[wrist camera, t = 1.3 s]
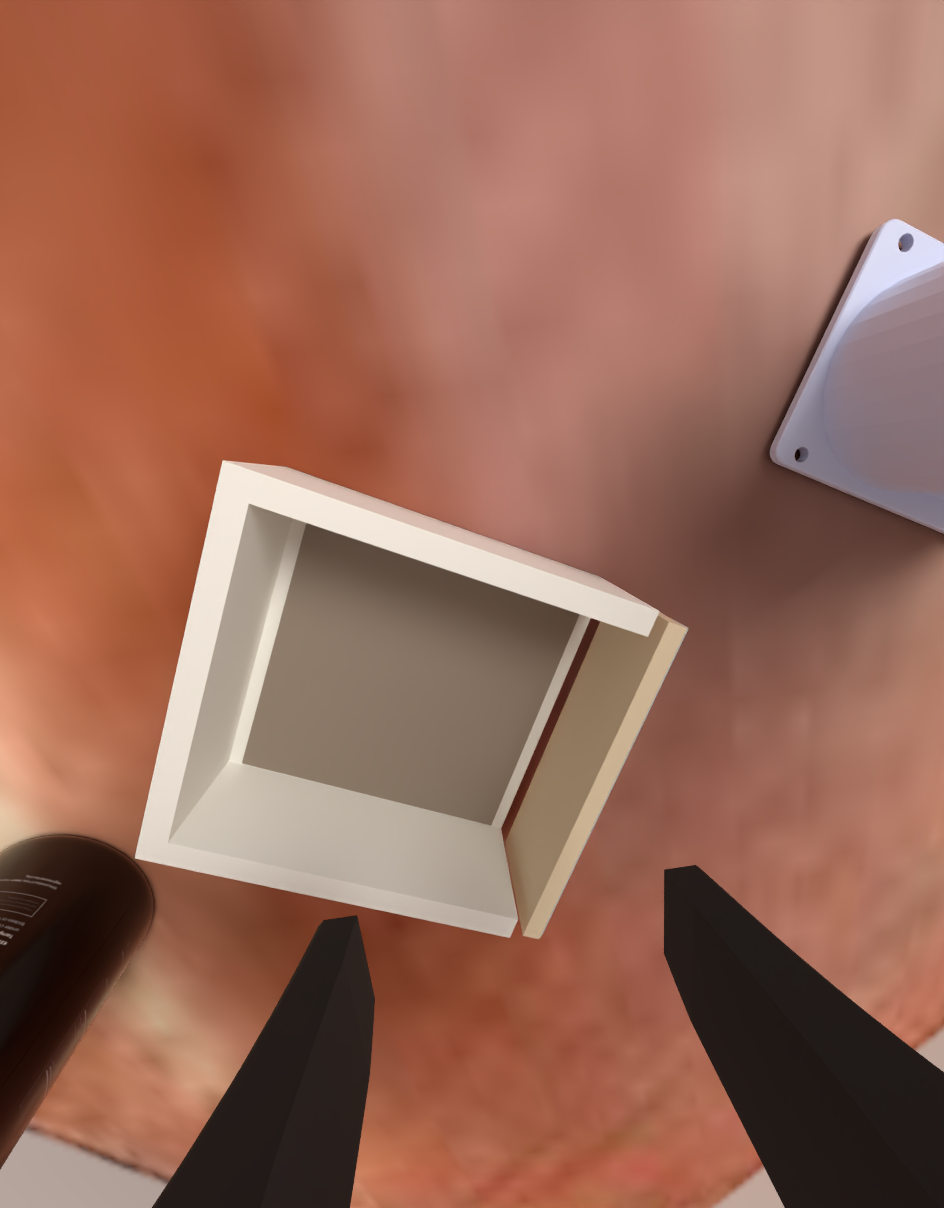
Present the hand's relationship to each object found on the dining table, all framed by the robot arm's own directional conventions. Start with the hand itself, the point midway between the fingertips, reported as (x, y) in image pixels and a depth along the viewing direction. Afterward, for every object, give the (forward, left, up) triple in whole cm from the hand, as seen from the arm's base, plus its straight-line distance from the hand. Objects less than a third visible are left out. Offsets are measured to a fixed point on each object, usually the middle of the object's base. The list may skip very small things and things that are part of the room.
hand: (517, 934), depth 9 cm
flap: (-4, 0, -10) cm, 10 cm away
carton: (+3, 0, -10) cm, 11 cm away
